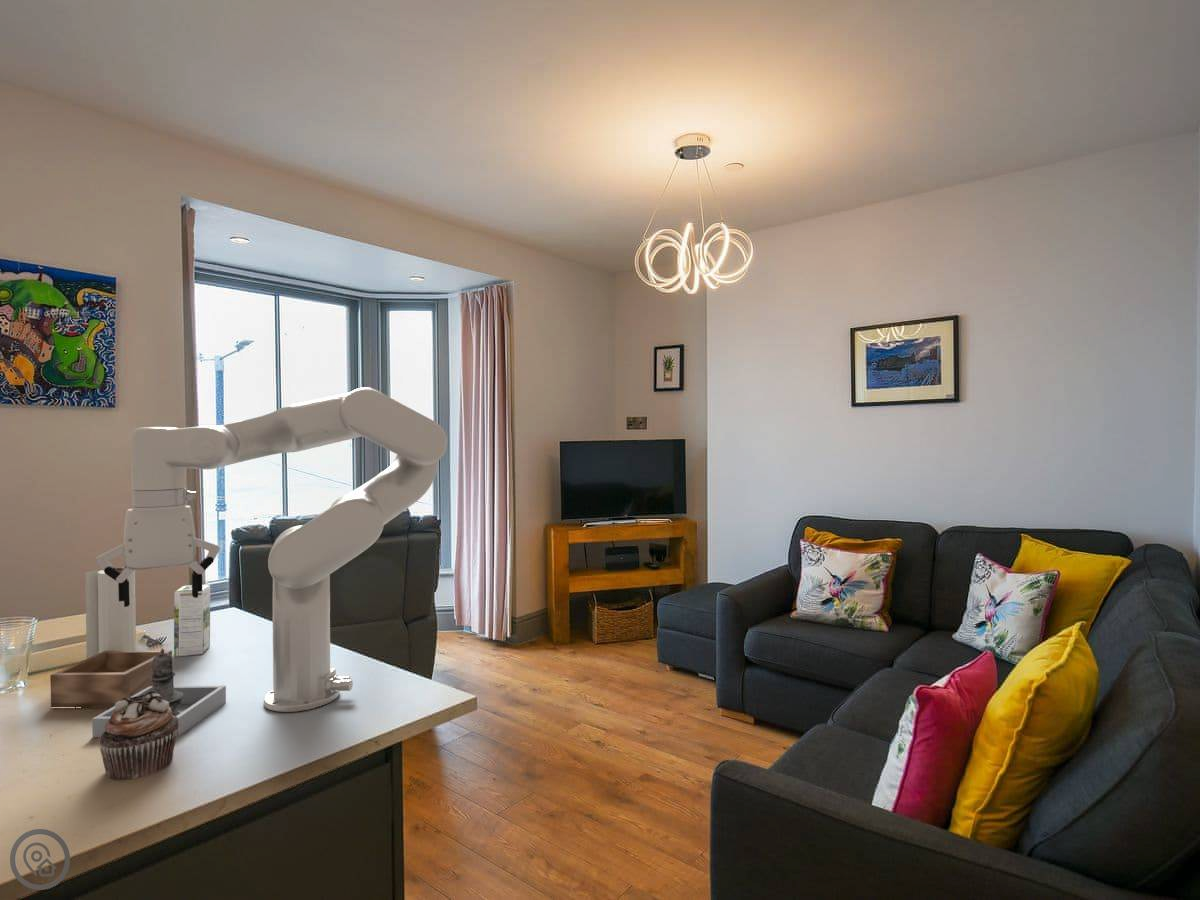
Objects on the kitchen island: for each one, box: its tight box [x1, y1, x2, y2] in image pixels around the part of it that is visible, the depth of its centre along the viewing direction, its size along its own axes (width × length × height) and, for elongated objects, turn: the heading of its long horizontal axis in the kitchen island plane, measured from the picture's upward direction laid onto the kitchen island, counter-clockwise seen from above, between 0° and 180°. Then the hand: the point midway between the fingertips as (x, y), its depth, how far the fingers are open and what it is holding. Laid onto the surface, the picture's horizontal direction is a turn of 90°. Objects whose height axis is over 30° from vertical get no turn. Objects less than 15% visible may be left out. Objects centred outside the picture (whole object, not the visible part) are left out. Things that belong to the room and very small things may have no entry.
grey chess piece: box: [150, 648, 184, 716], centre depth 111 cm, size 6×6×12 cm
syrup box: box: [173, 584, 211, 657], centre depth 146 cm, size 6×6×14 cm
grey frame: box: [91, 685, 227, 738], centre depth 111 cm, size 14×14×3 cm
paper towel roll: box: [85, 567, 137, 659], centre depth 131 cm, size 7×6×21 cm
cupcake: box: [98, 691, 180, 781], centre depth 95 cm, size 10×10×10 cm
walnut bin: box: [49, 649, 173, 709], centre depth 122 cm, size 13×13×6 cm
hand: (161, 600), depth 111 cm, fingers open, 9 cm apart
